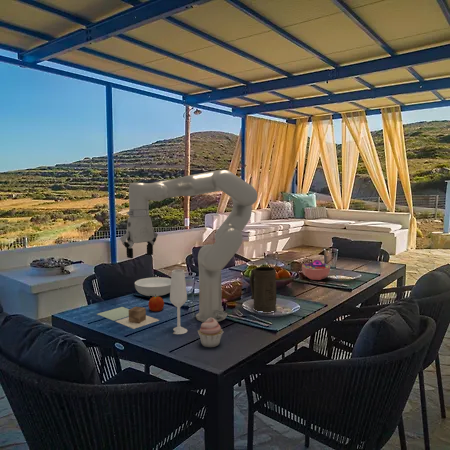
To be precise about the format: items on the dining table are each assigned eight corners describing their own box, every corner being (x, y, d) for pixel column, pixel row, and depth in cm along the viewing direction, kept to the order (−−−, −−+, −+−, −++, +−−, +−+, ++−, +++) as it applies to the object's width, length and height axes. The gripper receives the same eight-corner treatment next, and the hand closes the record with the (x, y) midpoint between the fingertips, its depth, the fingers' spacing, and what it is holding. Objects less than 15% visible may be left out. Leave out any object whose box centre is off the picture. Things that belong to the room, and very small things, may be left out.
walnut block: (145, 319, 164) (145, 307, 164) (139, 323, 160) (138, 311, 159) (135, 318, 166) (135, 306, 165) (128, 321, 161) (128, 310, 161)
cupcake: (203, 351, 135) (203, 323, 134) (193, 341, 143) (193, 315, 142) (228, 346, 139) (228, 319, 138) (217, 337, 147) (217, 311, 146)
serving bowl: (180, 297, 198) (180, 284, 198) (138, 302, 191) (138, 288, 190) (170, 287, 218) (170, 275, 217) (132, 291, 210) (131, 278, 209)
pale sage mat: (139, 314, 173) (139, 312, 173) (113, 322, 163) (113, 320, 163) (122, 308, 181) (122, 306, 181) (96, 315, 171) (96, 313, 171)
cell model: (296, 280, 232) (296, 262, 230) (308, 274, 249) (308, 256, 247) (324, 284, 223) (324, 265, 222) (334, 277, 240) (335, 259, 239)
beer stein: (282, 309, 179) (280, 267, 177) (268, 315, 171) (266, 271, 170) (256, 305, 189) (254, 264, 188) (242, 310, 181) (240, 268, 180)
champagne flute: (166, 331, 154) (165, 270, 151) (180, 326, 158) (179, 268, 156) (177, 335, 149) (176, 273, 146) (191, 331, 153) (190, 270, 151)
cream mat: (159, 321, 163) (159, 320, 163) (133, 330, 154) (133, 328, 154) (140, 315, 172) (140, 313, 172) (115, 323, 162) (114, 321, 162)
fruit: (167, 310, 178) (167, 293, 177) (157, 315, 172) (157, 297, 171) (155, 308, 181) (155, 291, 181) (145, 312, 175) (144, 295, 175)
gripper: (126, 215, 147) (127, 260, 149) (162, 213, 160) (162, 254, 162) (114, 214, 152) (116, 258, 154) (150, 212, 165) (151, 252, 167)
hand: (140, 256), depth 158 cm, fingers open, 9 cm apart
